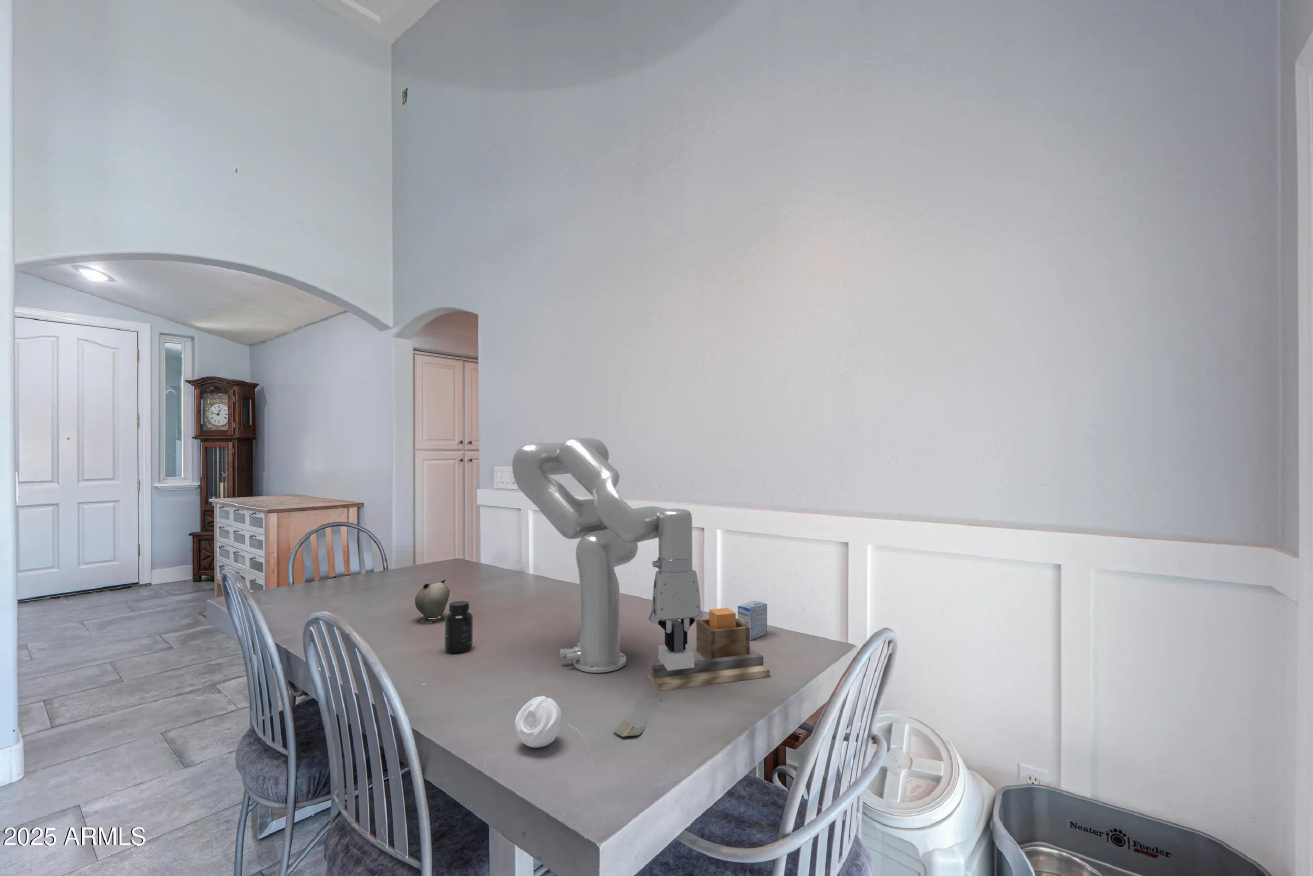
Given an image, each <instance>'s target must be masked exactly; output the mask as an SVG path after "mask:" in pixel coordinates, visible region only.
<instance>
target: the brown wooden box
mask: <svg viewBox="0 0 1313 876" xmlns="http://www.w3.org/2000/svg"><path fill="white" fill-rule="evenodd" d="M695 624H696V627H695V628H696V653H698V654H699V655H700V656H701V657H702V658H703V660H706V659H715V658H723V657H732V656H741V655H749V654H751V640H750V628H749V627H748V626H747V625H745V624H744V623H742V622H741V621H739V620H738V618H736V628H727V629H717V630H713V629H712V628H711V627H709V617H708V618H701V619H699V620H697V621H695Z"/></svg>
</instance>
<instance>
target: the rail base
mask: <svg viewBox="0 0 1313 876" xmlns="http://www.w3.org/2000/svg"><path fill="white" fill-rule="evenodd" d="M647 675H648V678H649V679H650V680H651V682H652V684H653V686H654V687H656V689H657V691H658V692H660V691H661V692H662V691H667V690H675V689H684V688H685V689H686V688H692V687H698V686H699V687H700V686H707V685H715V684H723V683H730V682H738V681H739V682H740V681H745V680H753V679H760V678H761V679H762V678H770V677H771V675H770V669H769V668H768V667H766V665H764V656H763V655H762V654H761V653H759V652H758V653H752V654H751V653H750V654H749V655H741V656H732V657H723V658H715V659H706V660H705V659H699V660H694V668H686V669H678V670H669V671H668V670H667V669H666V668H665V666H664V665H663V664H662V663H661V664H655V665H652V666H651V669H648V674H647Z"/></svg>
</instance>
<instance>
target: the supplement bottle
mask: <svg viewBox="0 0 1313 876" xmlns="http://www.w3.org/2000/svg"><path fill="white" fill-rule="evenodd" d="M448 606H449V607H448V608H449V609H448V612H449V613H448V614H447V615H446V616H445V617H444V618H445V619H444V651H445V652H446V653H447V654H450V655H459V654H464V653H467V652H470V651H471V650H473V645H474V643H473V641H474V640H473V638H474V634H473V633H474V631H473V630H474V629H473V627H474V625H473V624H474V621H473V620H474V616H473V614H472V613H471V612H470V603H469V601H467V600H457V601H456V600H455V601H451V602H450V603H449V605H448Z"/></svg>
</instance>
